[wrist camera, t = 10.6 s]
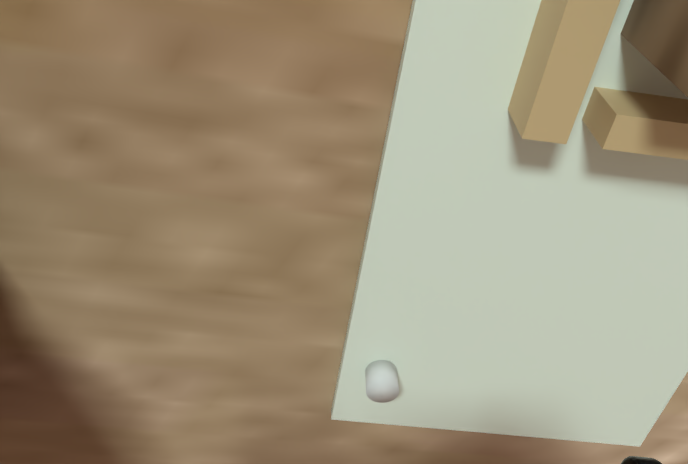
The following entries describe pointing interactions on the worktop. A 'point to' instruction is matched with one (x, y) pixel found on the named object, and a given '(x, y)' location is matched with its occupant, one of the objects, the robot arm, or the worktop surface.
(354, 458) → the worktop surface
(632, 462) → the robot arm
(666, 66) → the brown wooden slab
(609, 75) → the wall board
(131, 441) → the worktop surface
